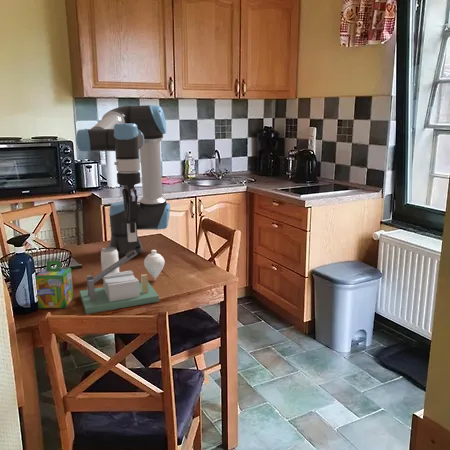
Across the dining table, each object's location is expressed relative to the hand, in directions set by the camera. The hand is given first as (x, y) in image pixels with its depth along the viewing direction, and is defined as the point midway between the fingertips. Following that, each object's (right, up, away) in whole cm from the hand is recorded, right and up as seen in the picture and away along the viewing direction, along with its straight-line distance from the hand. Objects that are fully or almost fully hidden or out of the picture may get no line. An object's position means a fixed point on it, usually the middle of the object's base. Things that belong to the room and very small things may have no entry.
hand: (132, 241), depth 159 cm
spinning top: (+5, -16, +20) cm, 26 cm away
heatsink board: (-5, -20, +3) cm, 21 cm away
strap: (-6, -9, 0) cm, 11 cm away
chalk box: (-26, -21, 0) cm, 33 cm away
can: (-12, -15, +22) cm, 30 cm away
